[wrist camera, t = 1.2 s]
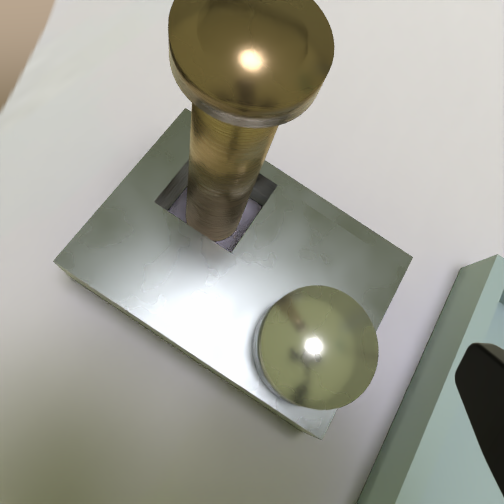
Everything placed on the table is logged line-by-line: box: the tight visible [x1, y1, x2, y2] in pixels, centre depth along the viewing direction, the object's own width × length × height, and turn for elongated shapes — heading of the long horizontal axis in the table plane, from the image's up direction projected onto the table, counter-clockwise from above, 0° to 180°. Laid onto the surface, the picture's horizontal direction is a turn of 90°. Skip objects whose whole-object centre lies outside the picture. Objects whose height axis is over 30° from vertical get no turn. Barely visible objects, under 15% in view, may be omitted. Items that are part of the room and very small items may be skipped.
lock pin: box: [168, 0, 334, 241], centre depth 17 cm, size 4×4×13 cm
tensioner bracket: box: [53, 108, 413, 440], centre depth 20 cm, size 10×14×5 cm
